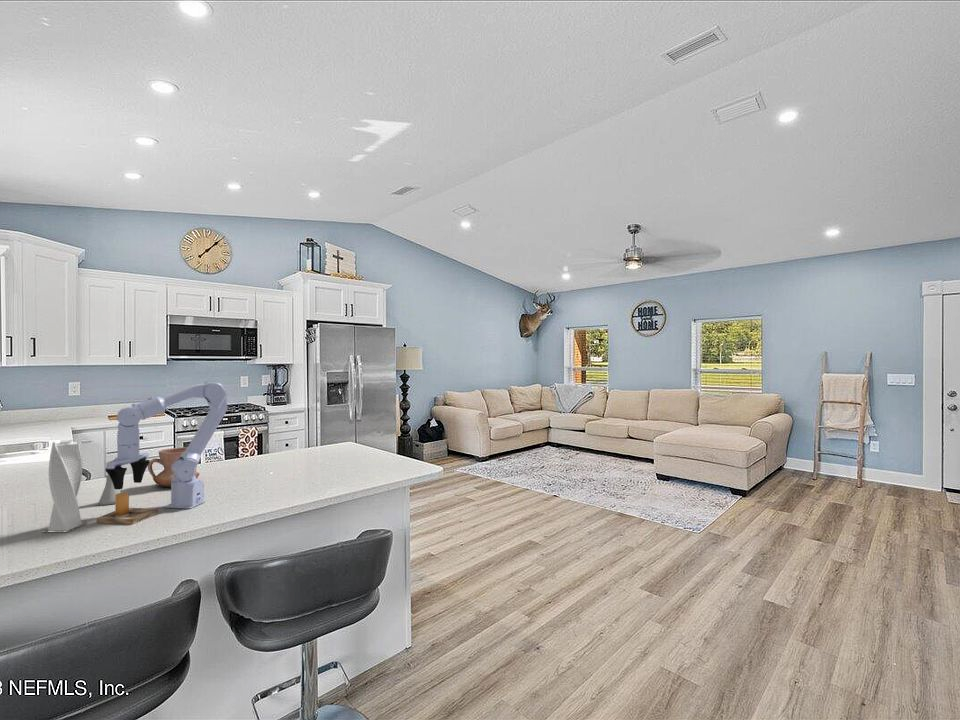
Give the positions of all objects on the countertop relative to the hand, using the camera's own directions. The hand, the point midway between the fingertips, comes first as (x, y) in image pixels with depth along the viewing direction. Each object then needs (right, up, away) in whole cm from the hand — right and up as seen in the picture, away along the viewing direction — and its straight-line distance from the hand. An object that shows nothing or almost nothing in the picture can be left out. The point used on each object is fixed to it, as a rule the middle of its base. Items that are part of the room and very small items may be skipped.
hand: (128, 485), depth 150 cm
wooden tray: (+3, -9, -3) cm, 10 cm away
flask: (-15, -9, +12) cm, 22 cm away
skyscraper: (-9, -10, -13) cm, 18 cm away
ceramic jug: (-8, -9, +35) cm, 37 cm away
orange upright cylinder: (+1, -9, -4) cm, 10 cm away
